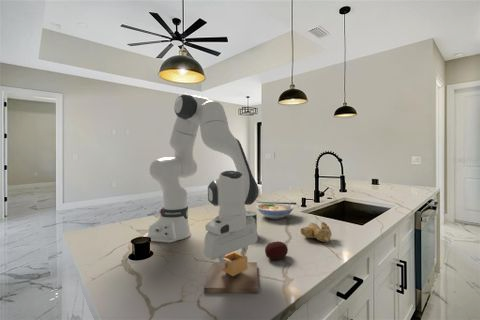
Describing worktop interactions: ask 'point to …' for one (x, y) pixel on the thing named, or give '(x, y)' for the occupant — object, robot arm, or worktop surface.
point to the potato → (276, 250)
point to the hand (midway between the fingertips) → (233, 263)
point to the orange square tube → (235, 263)
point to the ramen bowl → (275, 209)
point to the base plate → (232, 280)
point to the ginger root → (317, 232)
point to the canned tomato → (252, 216)
